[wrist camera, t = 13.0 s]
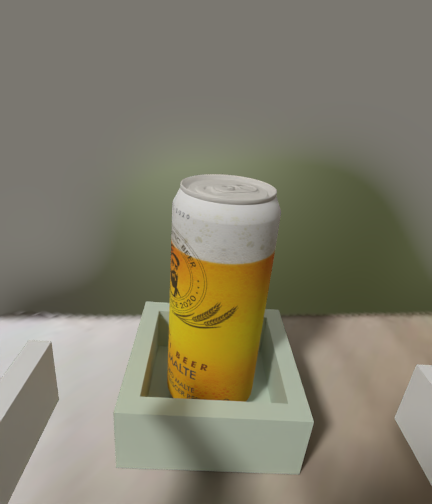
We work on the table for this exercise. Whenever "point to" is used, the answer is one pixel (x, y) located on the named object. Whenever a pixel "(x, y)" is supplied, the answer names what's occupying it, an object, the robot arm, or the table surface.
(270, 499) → the table surface
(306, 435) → the socket
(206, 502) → the table surface
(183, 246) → the beer can
